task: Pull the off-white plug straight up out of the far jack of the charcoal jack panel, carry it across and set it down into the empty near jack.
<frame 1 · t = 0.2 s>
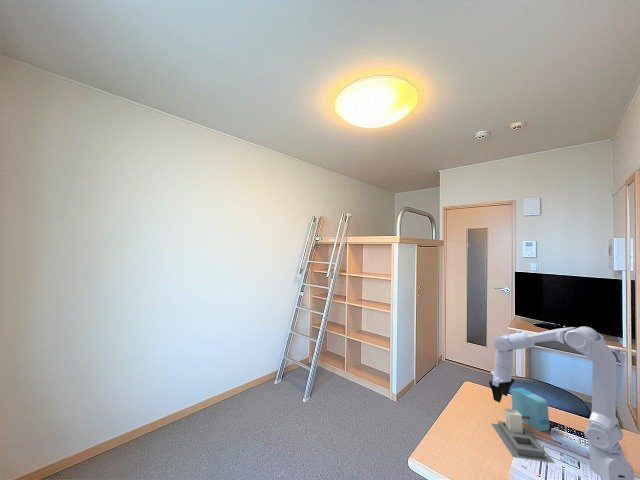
hand: (500, 397, 108), 10 cm above the table, tool pointing down, fingers open, 7 cm apart
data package: (530, 424, 108), on the table
plug: (514, 434, 100), point 1 cm above the table, touching jack panel
jack panel: (519, 443, 96), on the table
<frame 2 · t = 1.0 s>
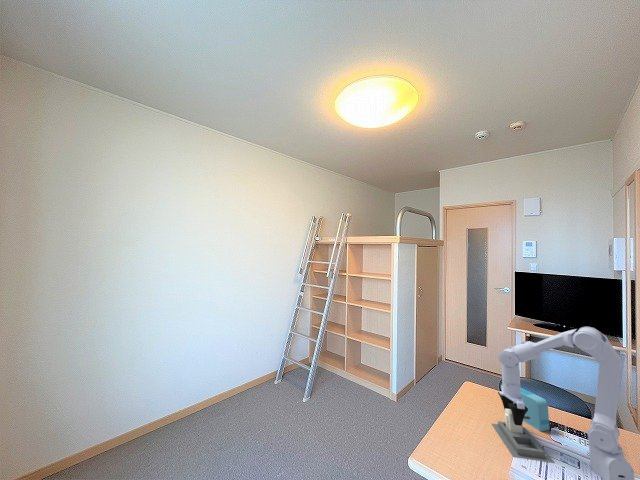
hand: (513, 418, 101), 6 cm above the table, tool pointing down, fingers open, 7 cm apart
nothing on the table moved.
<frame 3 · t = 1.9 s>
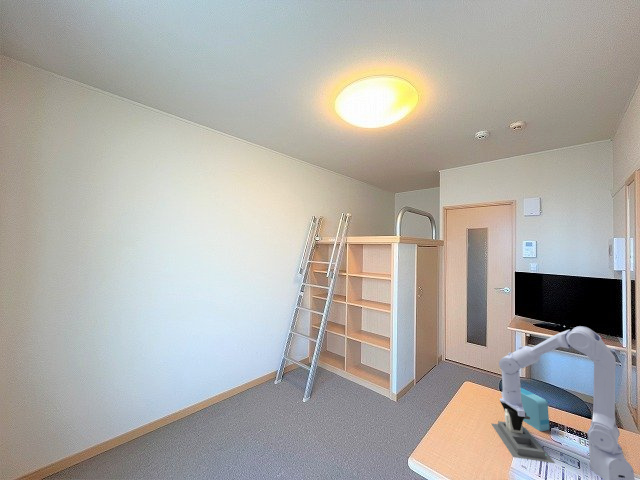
hand: (513, 426, 100), 4 cm above the table, tool pointing down, fingers closed on plug, 4 cm apart
plug: (514, 434, 100), point 1 cm above the table, touching gripper, jack panel
everything else where it was.
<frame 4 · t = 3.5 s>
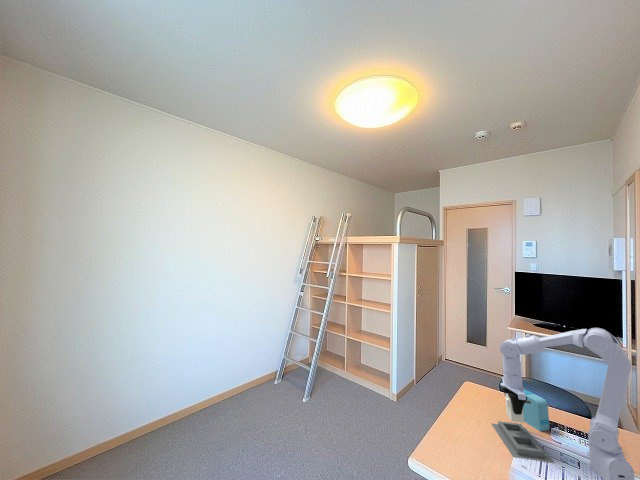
hand: (514, 410, 99), 10 cm above the table, tool pointing down, fingers closed on plug, 4 cm apart
plug: (515, 418, 99), point 7 cm above the table, touching gripper
everything else where it was.
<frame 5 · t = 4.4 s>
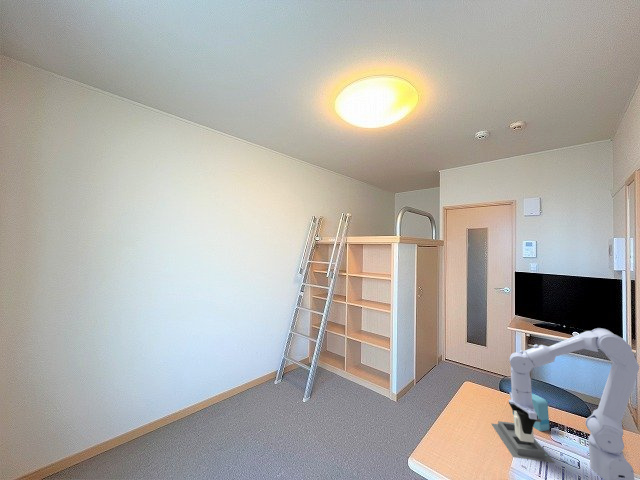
hand: (523, 429, 93), 7 cm above the table, tool pointing down, fingers closed on plug, 4 cm apart
plug: (524, 438, 93), point 4 cm above the table, touching gripper
everything else where it was.
when the fingers open (5 cm above the table, at t = 5.2 s): plug stays where it is, resting on jack panel.
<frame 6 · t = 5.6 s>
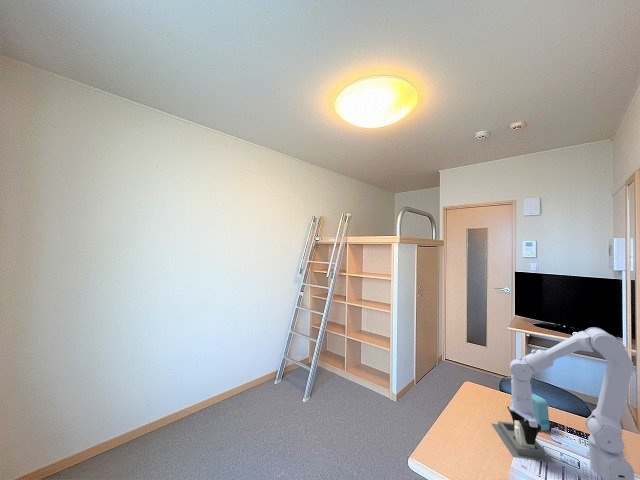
hand: (524, 436, 93), 5 cm above the table, tool pointing down, fingers open, 7 cm apart
plug: (525, 448, 92), point 1 cm above the table, touching jack panel
everything else where it was.
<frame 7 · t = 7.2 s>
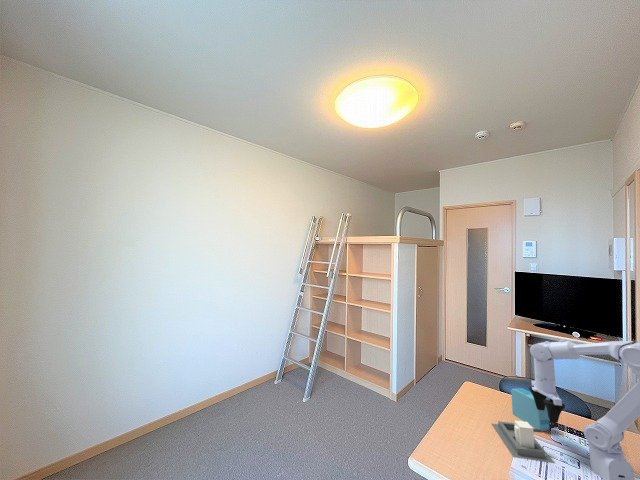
hand: (546, 415, 96), 10 cm above the table, tool pointing down, fingers open, 7 cm apart
nothing on the table moved.
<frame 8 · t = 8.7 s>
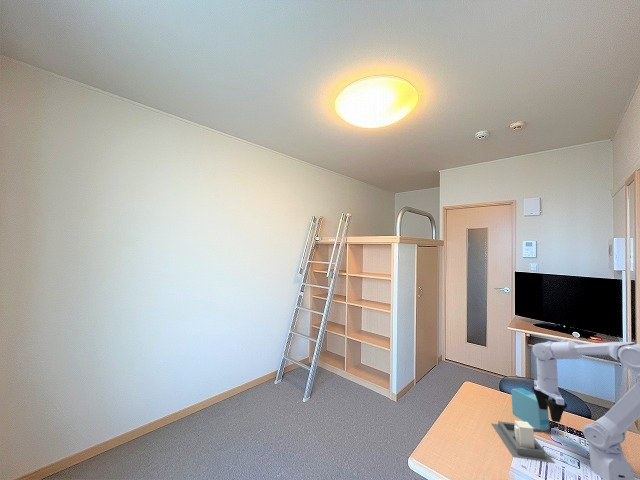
hand: (549, 414, 96), 10 cm above the table, tool pointing down, fingers open, 7 cm apart
nothing on the table moved.
at the end: plug 0.0 cm from the target spot on the jack panel, point 1.0 cm above the jack panel's base; plug tilted 0°; the gripper is holding nothing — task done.
